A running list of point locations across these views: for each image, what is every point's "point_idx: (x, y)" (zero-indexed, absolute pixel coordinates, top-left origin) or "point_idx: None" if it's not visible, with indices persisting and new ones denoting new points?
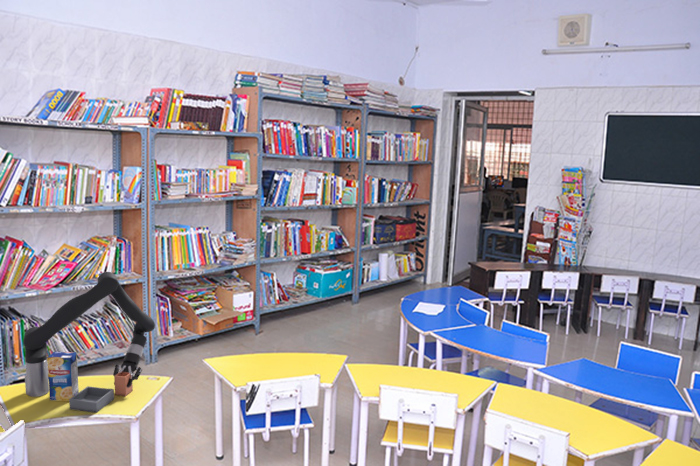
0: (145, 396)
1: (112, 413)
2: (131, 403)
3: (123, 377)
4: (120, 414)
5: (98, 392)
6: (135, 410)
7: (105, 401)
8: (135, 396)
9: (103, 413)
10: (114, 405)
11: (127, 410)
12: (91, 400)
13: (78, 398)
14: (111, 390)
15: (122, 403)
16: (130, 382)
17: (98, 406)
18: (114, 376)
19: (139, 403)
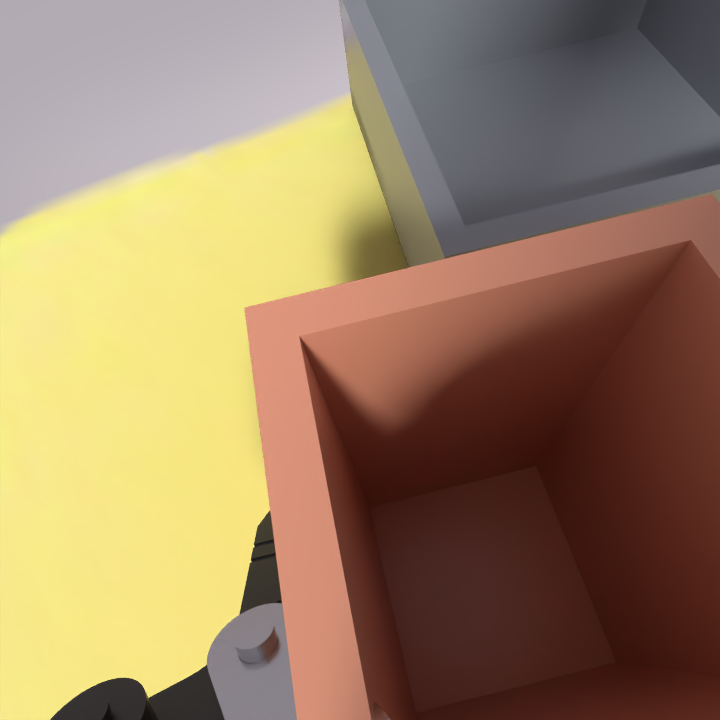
0: (40, 651)
1: (205, 157)
2: (137, 374)
3: (330, 299)
4: (120, 178)
5: None
6: (8, 286)
7: (384, 164)
8: (202, 566)
9: (285, 124)
10: (301, 253)
11: (94, 250)
12: (606, 160)
13: (716, 45)
14: (445, 217)
15: (246, 324)
16: (256, 563)
17: (352, 73)
18: (695, 212)
19: (34, 422)
